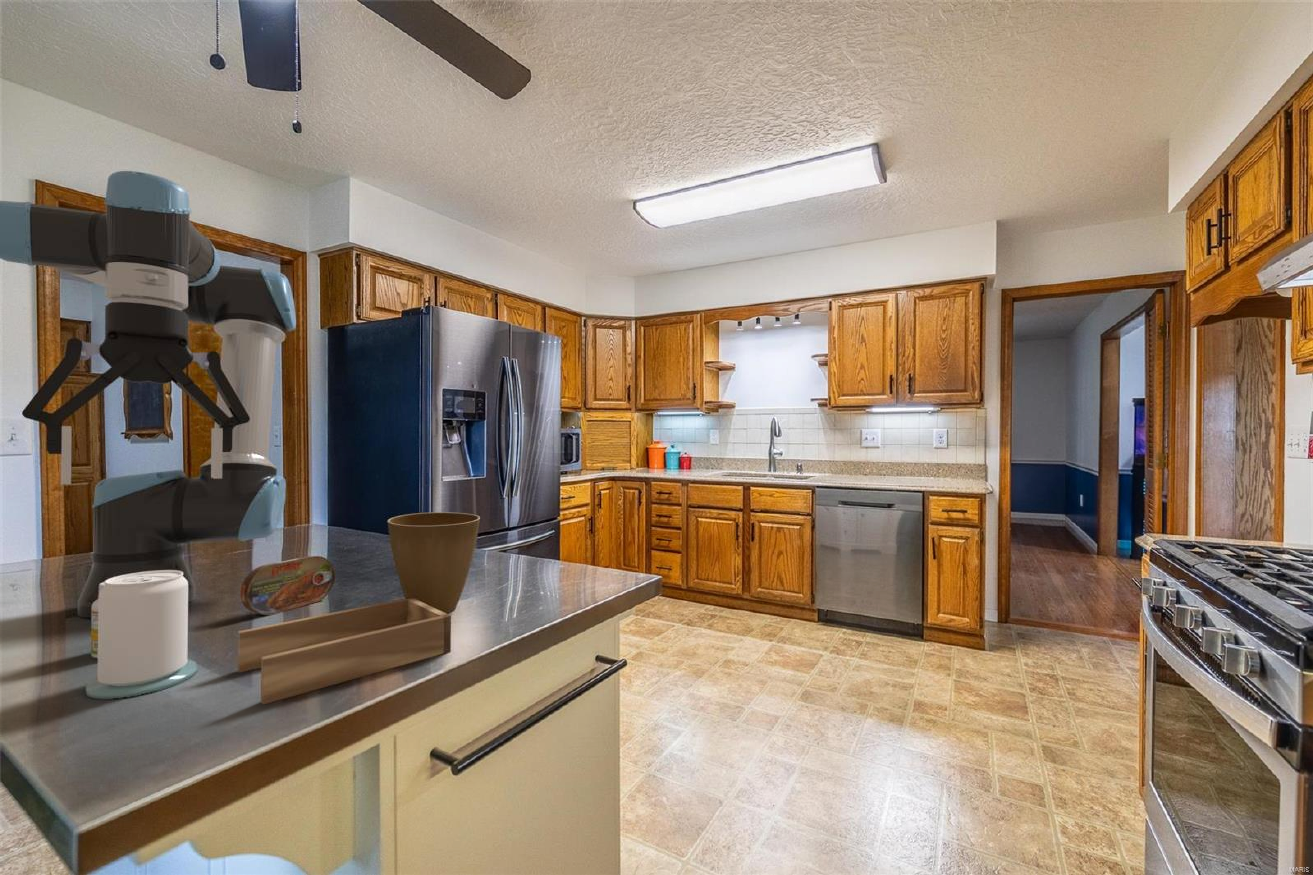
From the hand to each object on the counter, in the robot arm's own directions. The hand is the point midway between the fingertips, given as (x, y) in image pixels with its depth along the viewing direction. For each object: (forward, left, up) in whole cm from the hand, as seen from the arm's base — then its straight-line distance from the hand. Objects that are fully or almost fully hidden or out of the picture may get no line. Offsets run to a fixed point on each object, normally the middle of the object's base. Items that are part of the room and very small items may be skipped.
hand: (146, 480), depth 69 cm
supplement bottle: (-14, -2, -25) cm, 28 cm away
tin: (-21, +20, -25) cm, 38 cm away
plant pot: (-2, +37, -25) cm, 45 cm away
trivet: (0, 0, -24) cm, 24 cm away
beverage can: (0, 0, -24) cm, 24 cm away
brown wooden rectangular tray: (+11, +20, -24) cm, 34 cm away
